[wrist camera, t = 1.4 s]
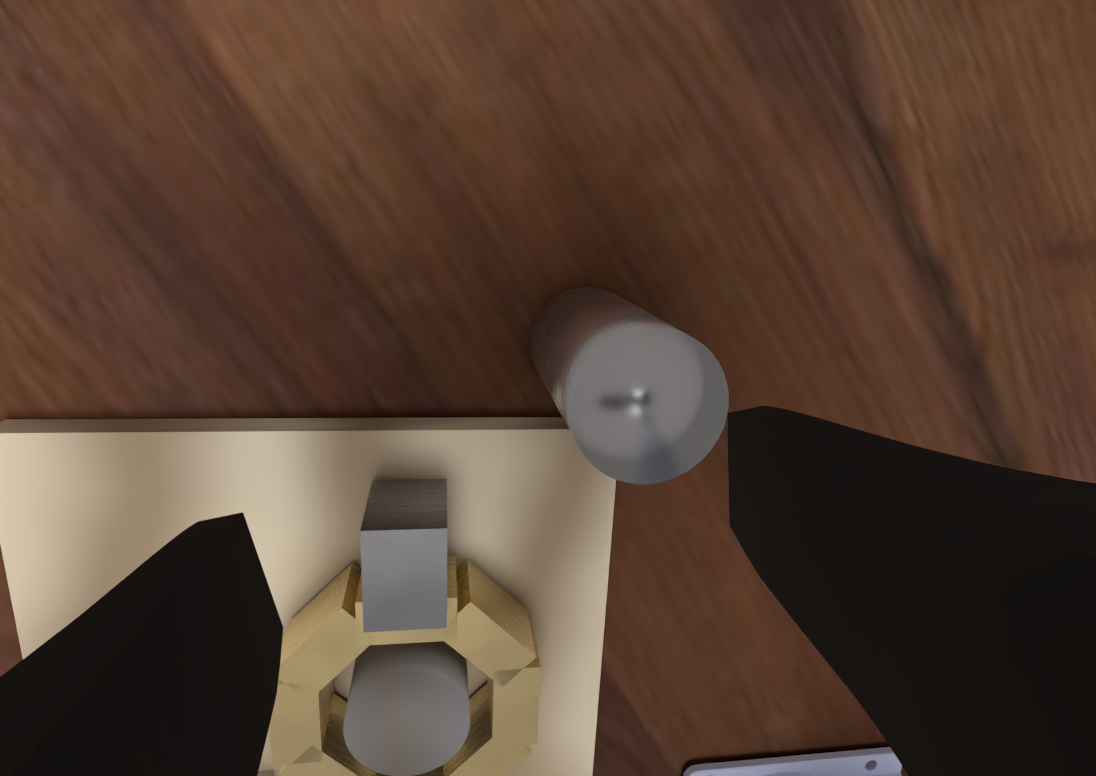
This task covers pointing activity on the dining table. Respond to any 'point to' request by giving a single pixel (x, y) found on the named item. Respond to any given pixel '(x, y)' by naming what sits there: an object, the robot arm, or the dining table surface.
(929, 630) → the robot arm
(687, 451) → the pin
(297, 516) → the board
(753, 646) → the dining table surface
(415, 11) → the dining table surface
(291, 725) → the ring nut
